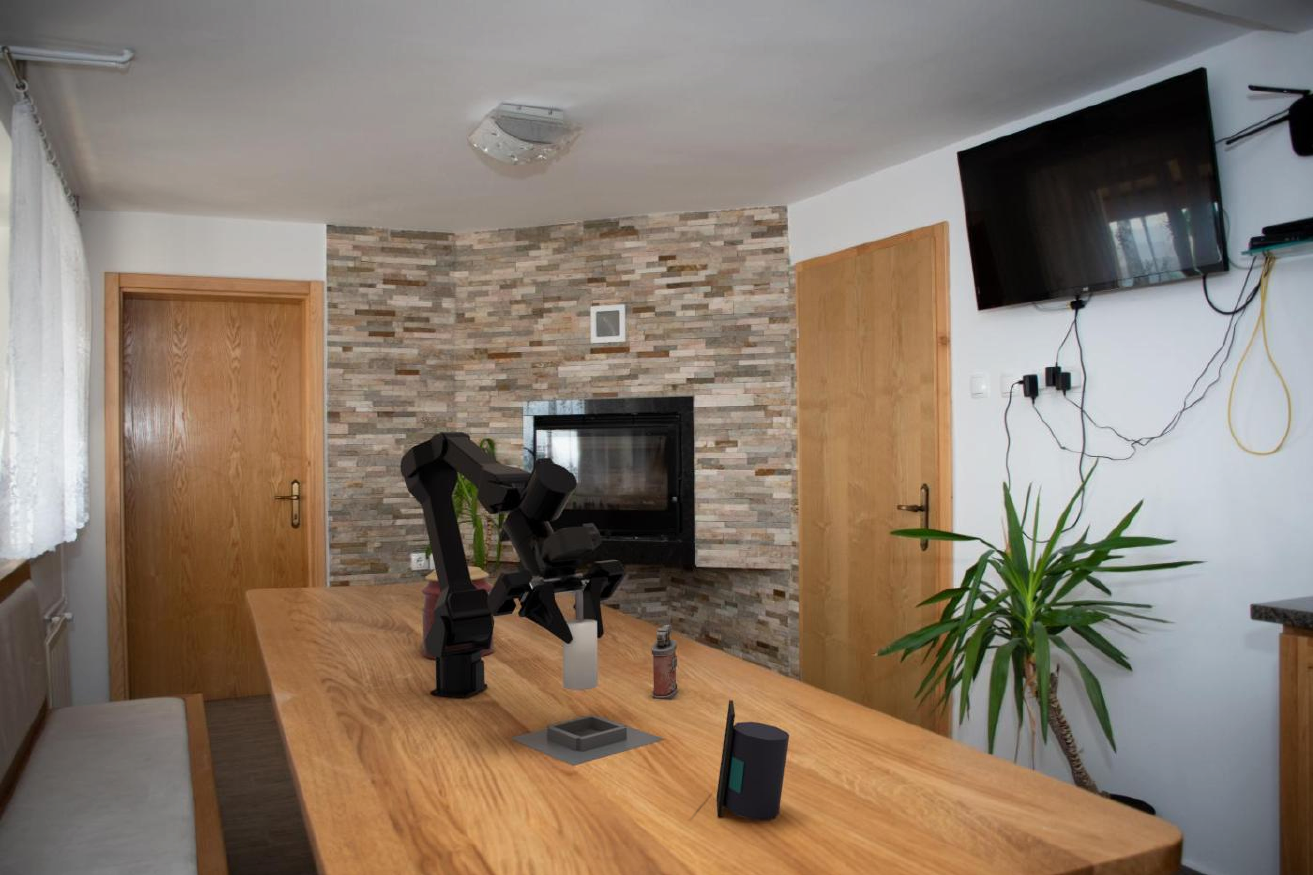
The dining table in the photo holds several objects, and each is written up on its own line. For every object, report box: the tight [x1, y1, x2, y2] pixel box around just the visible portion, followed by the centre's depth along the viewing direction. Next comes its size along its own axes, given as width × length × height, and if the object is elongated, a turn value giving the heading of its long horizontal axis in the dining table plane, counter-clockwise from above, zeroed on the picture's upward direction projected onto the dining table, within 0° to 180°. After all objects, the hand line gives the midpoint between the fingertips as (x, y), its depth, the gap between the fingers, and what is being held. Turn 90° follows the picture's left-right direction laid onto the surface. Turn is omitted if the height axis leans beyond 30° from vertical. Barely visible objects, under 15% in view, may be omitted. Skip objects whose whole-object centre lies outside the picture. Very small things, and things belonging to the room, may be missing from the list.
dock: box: [509, 714, 666, 767], centre depth 117 cm, size 14×14×2 cm
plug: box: [561, 591, 599, 691], centre depth 118 cm, size 4×4×12 cm
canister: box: [420, 565, 495, 660], centre depth 171 cm, size 13×13×18 cm
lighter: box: [651, 624, 678, 701], centre depth 139 cm, size 8×3×10 cm, turn 168°
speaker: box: [716, 699, 790, 821], centre depth 94 cm, size 8×6×10 cm
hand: (586, 638), depth 117 cm, fingers closed on plug, 4 cm apart
